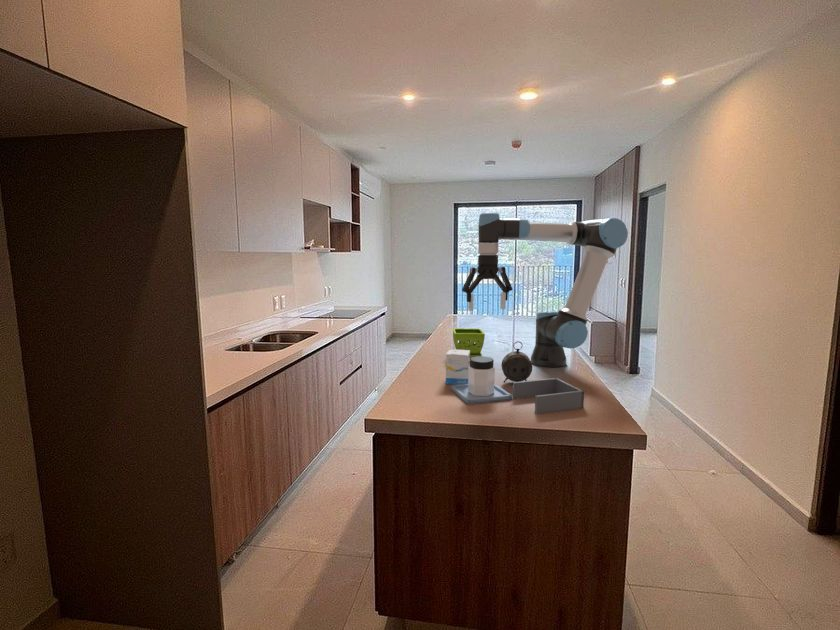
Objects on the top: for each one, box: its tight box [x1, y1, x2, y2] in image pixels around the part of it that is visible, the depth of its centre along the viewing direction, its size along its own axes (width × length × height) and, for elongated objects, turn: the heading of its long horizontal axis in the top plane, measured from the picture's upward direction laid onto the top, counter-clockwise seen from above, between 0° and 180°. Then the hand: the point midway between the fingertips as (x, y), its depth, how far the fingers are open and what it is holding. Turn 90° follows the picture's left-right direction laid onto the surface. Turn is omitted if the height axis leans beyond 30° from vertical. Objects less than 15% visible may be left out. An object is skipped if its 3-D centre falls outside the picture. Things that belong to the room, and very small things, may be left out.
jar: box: [468, 355, 496, 396], centre depth 150 cm, size 9×8×12 cm
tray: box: [450, 383, 513, 406], centre depth 151 cm, size 16×16×2 cm
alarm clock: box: [501, 341, 533, 383], centre depth 161 cm, size 11×5×16 cm, turn 86°
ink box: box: [445, 348, 470, 385], centre depth 164 cm, size 9×8×12 cm
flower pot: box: [452, 327, 486, 358], centre depth 201 cm, size 14×14×13 cm
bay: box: [512, 377, 585, 415], centre depth 142 cm, size 17×15×6 cm
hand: (487, 309), depth 168 cm, fingers open, 13 cm apart
